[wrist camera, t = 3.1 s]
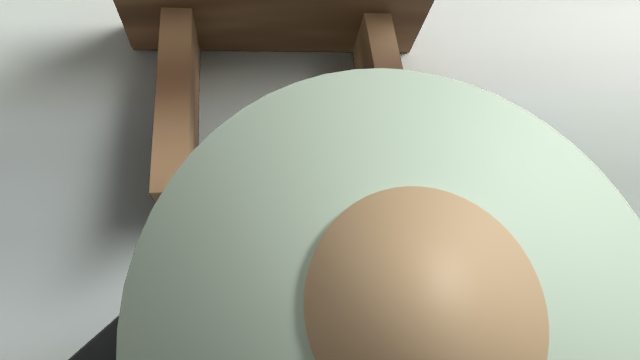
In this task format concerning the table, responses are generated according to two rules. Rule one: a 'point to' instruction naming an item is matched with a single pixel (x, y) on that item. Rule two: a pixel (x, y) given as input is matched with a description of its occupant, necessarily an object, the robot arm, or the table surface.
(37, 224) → the table surface
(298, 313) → the pale green tapered cylinder
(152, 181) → the holder
